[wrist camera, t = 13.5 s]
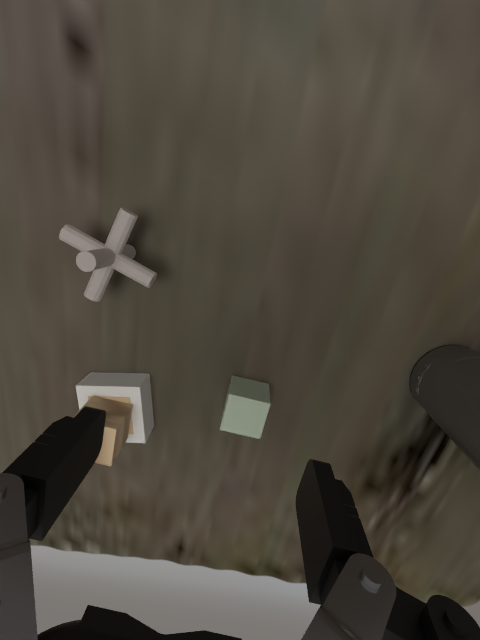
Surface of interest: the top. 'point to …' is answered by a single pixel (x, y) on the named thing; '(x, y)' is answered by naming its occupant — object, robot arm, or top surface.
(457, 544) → the top surface
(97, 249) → the pipe connector
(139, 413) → the white base
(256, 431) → the sage block
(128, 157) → the top surface
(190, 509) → the top surface
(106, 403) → the oak block
